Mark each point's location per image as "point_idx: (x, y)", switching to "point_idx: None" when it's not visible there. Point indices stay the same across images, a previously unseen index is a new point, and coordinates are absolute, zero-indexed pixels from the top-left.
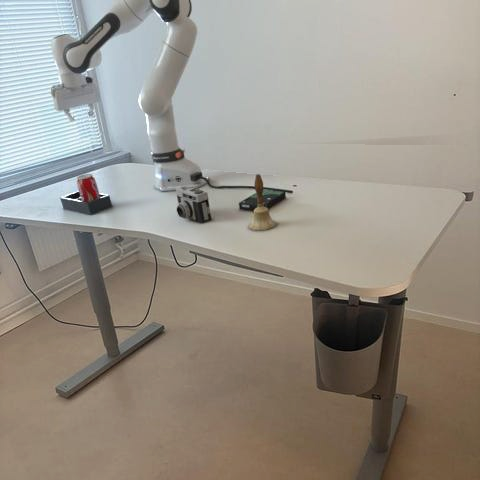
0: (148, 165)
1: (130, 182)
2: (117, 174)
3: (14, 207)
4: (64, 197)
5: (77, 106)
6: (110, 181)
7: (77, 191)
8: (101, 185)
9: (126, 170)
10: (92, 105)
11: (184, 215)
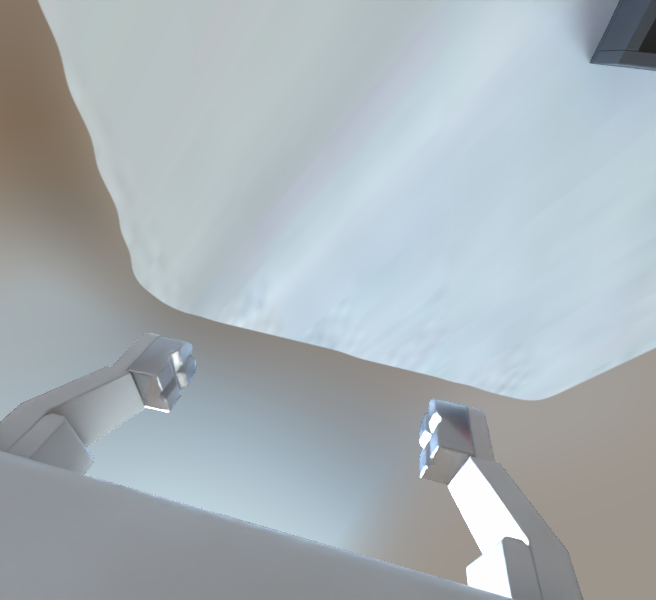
0: (105, 180)
1: (284, 48)
2: (230, 227)
3: (620, 340)
4: None
5: (327, 552)
6: (301, 185)
7: (653, 62)
8: (353, 184)
9: (185, 228)
10: (31, 422)
11: None
